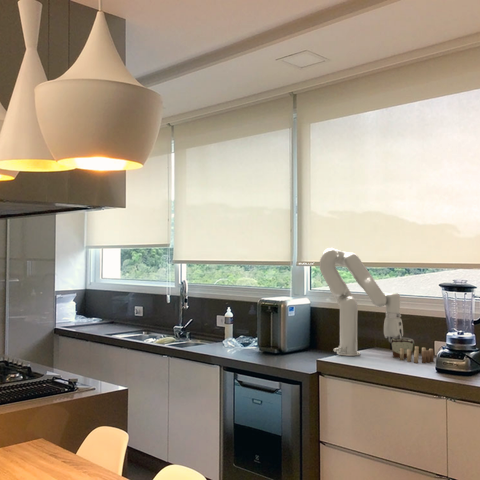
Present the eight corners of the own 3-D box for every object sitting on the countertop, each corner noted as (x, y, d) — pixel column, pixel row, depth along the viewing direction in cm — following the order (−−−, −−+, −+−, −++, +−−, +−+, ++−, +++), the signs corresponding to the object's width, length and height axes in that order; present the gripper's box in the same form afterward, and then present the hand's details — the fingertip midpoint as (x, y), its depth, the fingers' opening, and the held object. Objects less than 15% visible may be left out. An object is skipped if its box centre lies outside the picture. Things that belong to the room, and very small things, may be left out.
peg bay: (420, 364, 277) (420, 352, 277) (399, 360, 288) (399, 348, 288) (438, 361, 285) (438, 349, 285) (416, 357, 296) (416, 346, 296)
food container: (413, 355, 298) (413, 337, 297) (414, 358, 292) (414, 340, 291) (389, 354, 301) (389, 336, 300) (390, 357, 295) (390, 339, 294)
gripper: (408, 316, 298) (408, 350, 297) (386, 314, 310) (386, 347, 309) (399, 317, 294) (399, 352, 293) (377, 315, 306) (377, 348, 305)
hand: (393, 349), depth 301 cm, fingers closed
